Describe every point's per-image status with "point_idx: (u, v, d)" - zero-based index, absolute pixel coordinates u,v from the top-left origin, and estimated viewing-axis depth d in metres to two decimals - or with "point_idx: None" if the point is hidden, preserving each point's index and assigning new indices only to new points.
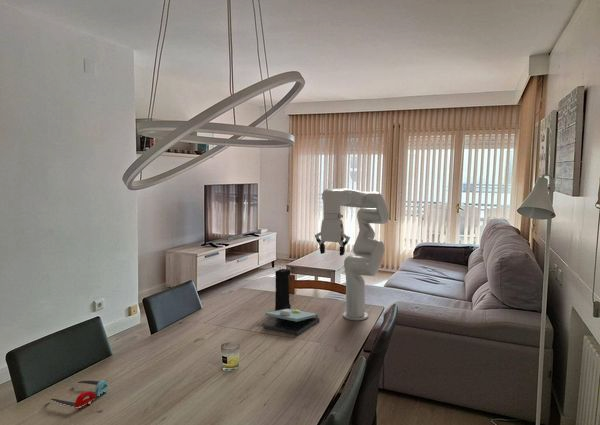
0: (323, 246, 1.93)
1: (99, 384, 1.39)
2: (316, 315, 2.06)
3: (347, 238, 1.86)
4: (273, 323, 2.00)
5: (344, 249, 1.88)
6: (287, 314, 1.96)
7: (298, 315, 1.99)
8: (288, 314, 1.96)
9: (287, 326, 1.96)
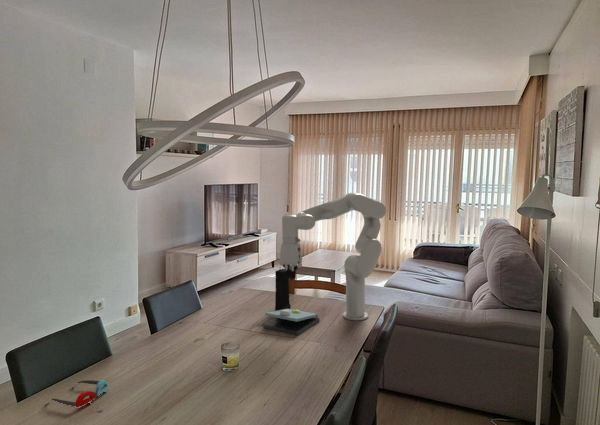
0: (289, 271, 2.02)
1: (99, 384, 1.39)
2: (316, 315, 2.06)
3: (299, 265, 1.98)
4: (273, 323, 2.00)
5: (295, 273, 2.01)
6: (287, 314, 1.96)
7: (298, 315, 1.99)
8: (288, 314, 1.96)
9: (287, 326, 1.96)
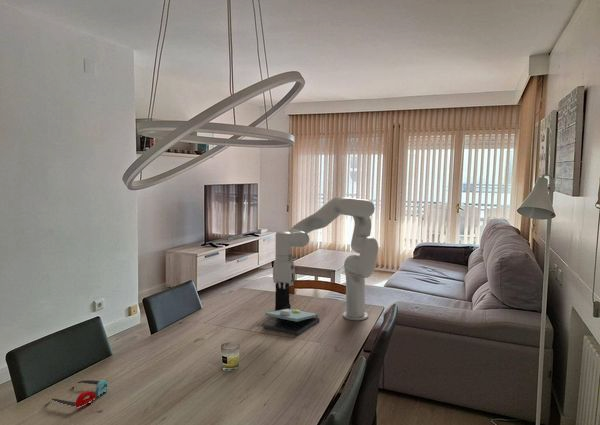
0: None
1: (99, 384, 1.39)
2: (316, 315, 2.06)
3: (291, 284, 1.94)
4: (273, 323, 2.00)
5: None
6: (287, 314, 1.96)
7: (298, 315, 1.99)
8: (288, 314, 1.96)
9: (287, 326, 1.96)
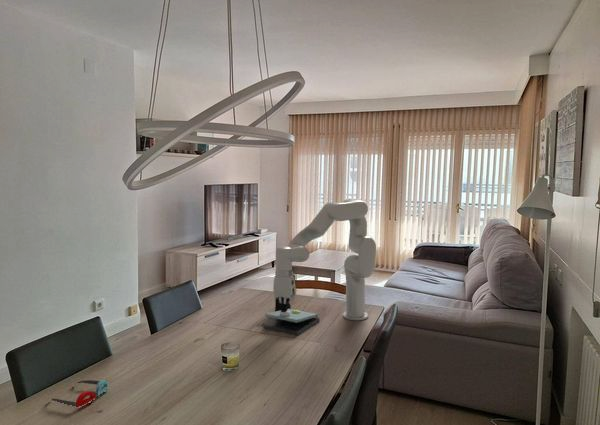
0: None
1: (99, 384, 1.40)
2: (316, 315, 2.06)
3: (291, 299, 1.94)
4: (273, 323, 2.00)
5: (287, 306, 1.97)
6: (287, 315, 1.96)
7: (298, 316, 1.99)
8: (288, 315, 1.96)
9: (287, 326, 1.96)
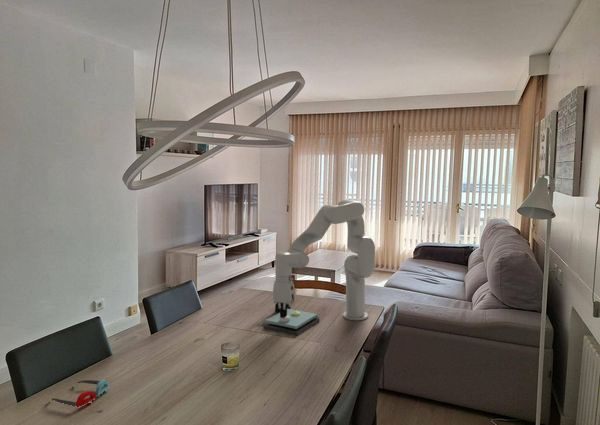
0: None
1: (99, 383, 1.40)
2: (316, 315, 2.06)
3: (291, 305, 1.94)
4: None
5: None
6: (286, 320, 1.96)
7: (298, 319, 1.99)
8: (287, 320, 1.96)
9: None
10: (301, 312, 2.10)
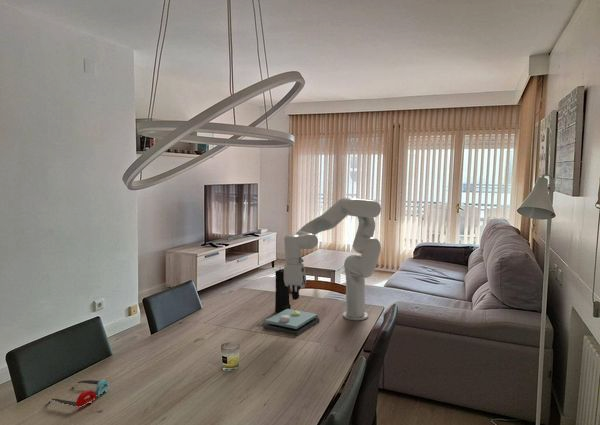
0: None
1: (100, 383, 1.40)
2: (316, 315, 2.06)
3: (302, 286, 1.95)
4: None
5: (298, 293, 1.98)
6: (286, 321, 1.96)
7: (298, 319, 1.99)
8: (287, 320, 1.96)
9: None
10: (301, 312, 2.10)
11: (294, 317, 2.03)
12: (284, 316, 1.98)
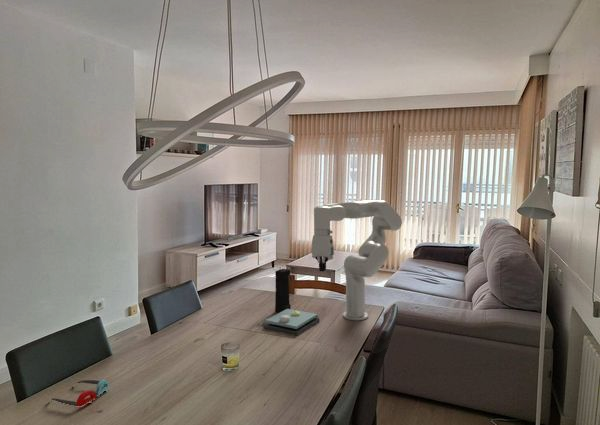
0: None
1: (100, 383, 1.40)
2: (316, 315, 2.06)
3: (330, 258, 1.96)
4: None
5: (325, 265, 1.99)
6: (286, 321, 1.96)
7: (298, 319, 1.99)
8: (287, 320, 1.96)
9: None
10: (301, 312, 2.10)
11: (294, 317, 2.03)
12: (284, 316, 1.98)
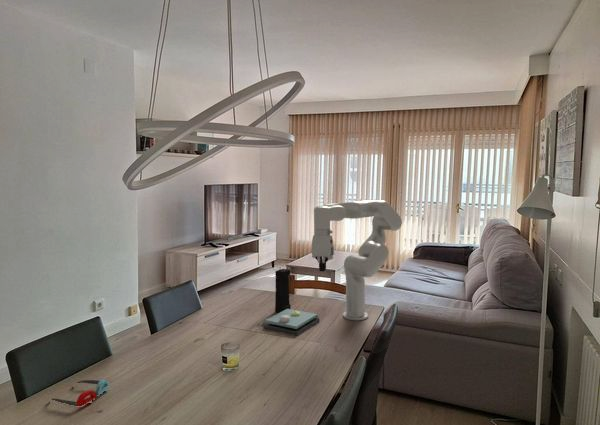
0: None
1: (100, 383, 1.40)
2: (316, 315, 2.06)
3: (330, 258, 1.96)
4: None
5: (325, 265, 1.99)
6: (286, 321, 1.96)
7: (298, 319, 1.99)
8: (287, 320, 1.96)
9: None
10: (301, 312, 2.10)
11: (294, 317, 2.03)
12: (284, 316, 1.98)
